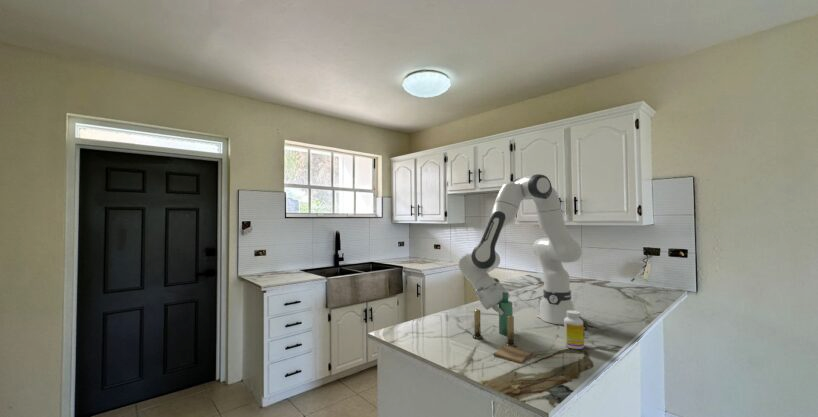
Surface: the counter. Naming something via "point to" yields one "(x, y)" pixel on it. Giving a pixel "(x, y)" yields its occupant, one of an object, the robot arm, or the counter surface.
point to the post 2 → (510, 331)
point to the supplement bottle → (573, 330)
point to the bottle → (508, 310)
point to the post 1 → (477, 325)
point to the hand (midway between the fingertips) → (507, 312)
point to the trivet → (513, 354)
